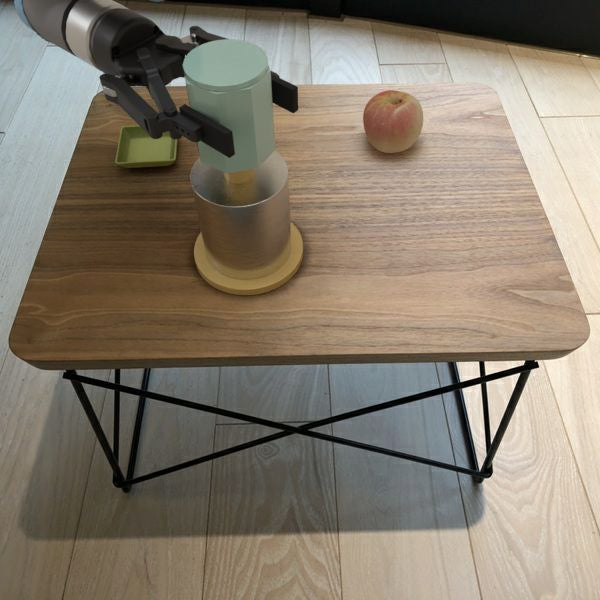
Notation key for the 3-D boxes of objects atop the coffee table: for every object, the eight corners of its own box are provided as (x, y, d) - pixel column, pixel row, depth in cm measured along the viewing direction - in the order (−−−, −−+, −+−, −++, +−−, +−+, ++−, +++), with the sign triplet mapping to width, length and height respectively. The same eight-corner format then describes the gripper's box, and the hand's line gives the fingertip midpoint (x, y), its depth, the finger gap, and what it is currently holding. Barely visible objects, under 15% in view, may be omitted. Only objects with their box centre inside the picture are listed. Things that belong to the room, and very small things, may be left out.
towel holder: (173, 267, 78) (127, 106, 59) (235, 201, 85) (213, 38, 66) (264, 312, 74) (247, 153, 55) (323, 238, 81) (325, 75, 62)
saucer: (180, 133, 95) (178, 122, 93) (178, 171, 89) (175, 160, 88) (124, 137, 94) (120, 126, 93) (118, 174, 89) (114, 163, 87)
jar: (183, 155, 65) (165, 70, 57) (226, 115, 69) (216, 31, 61) (245, 181, 62) (235, 95, 55) (287, 138, 67) (283, 52, 59)
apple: (363, 163, 90) (367, 117, 83) (359, 126, 95) (362, 80, 89) (422, 162, 90) (431, 116, 83) (415, 124, 95) (422, 78, 89)
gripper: (192, 35, 77) (332, 105, 67) (49, 114, 67) (189, 208, 58) (182, -27, 71) (334, 40, 61) (24, 50, 61) (175, 143, 52)
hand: (264, 121), depth 60 cm, fingers closed on jar, 8 cm apart
